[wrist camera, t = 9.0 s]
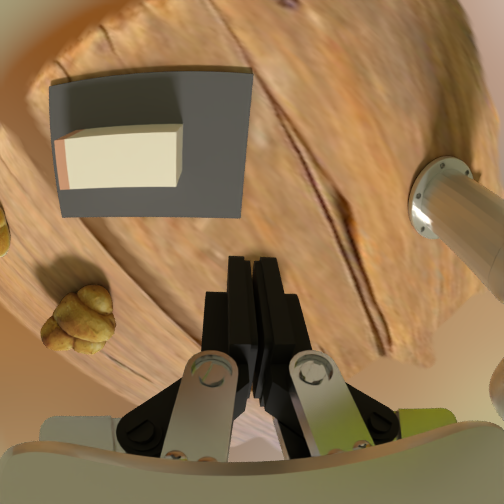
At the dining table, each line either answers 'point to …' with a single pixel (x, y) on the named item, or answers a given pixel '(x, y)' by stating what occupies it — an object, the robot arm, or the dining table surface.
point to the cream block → (120, 157)
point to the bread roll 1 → (4, 235)
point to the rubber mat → (163, 112)
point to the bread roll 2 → (81, 321)
